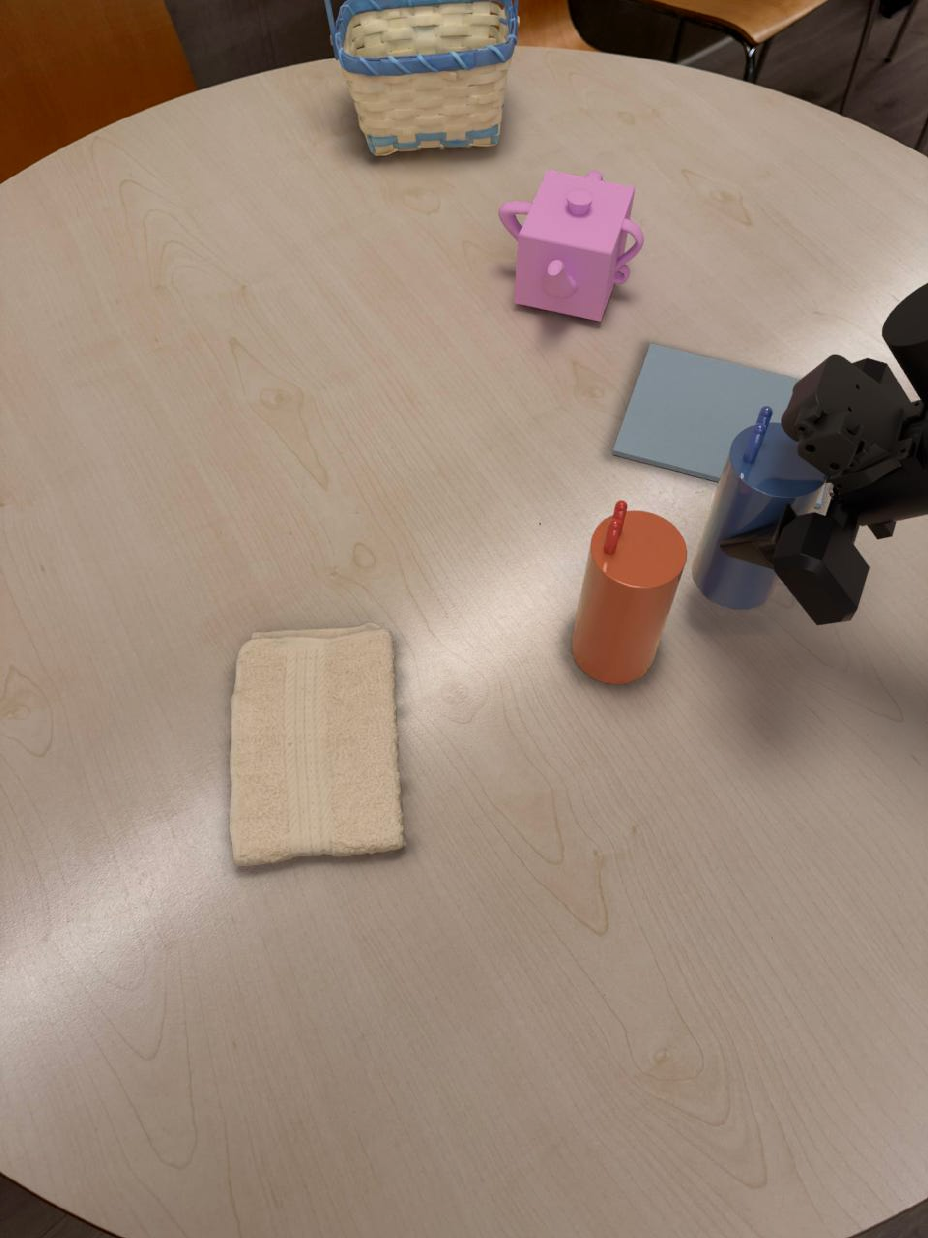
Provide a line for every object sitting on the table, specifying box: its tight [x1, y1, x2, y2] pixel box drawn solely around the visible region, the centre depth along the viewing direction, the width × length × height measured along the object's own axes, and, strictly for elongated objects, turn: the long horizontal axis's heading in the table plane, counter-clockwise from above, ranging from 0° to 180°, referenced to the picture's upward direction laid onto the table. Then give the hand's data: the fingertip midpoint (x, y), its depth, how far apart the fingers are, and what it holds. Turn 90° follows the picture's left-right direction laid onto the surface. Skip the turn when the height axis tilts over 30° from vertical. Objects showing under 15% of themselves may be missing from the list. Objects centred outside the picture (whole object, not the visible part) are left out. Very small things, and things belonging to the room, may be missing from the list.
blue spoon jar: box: [691, 406, 829, 611], centre depth 70 cm, size 6×6×16 cm
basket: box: [323, 0, 521, 157], centre depth 105 cm, size 21×16×24 cm
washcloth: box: [229, 621, 407, 867], centre depth 73 cm, size 12×18×3 cm, turn 6°
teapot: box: [497, 169, 645, 323], centre depth 96 cm, size 18×14×10 cm
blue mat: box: [611, 343, 826, 509], centre depth 91 cm, size 18×14×1 cm
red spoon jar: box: [570, 499, 688, 685], centre depth 72 cm, size 6×6×16 cm
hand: (736, 513), depth 72 cm, fingers closed on blue spoon jar, 6 cm apart
